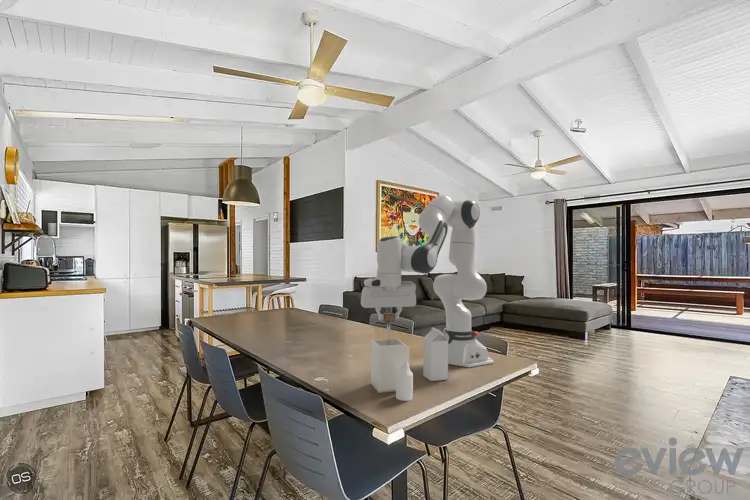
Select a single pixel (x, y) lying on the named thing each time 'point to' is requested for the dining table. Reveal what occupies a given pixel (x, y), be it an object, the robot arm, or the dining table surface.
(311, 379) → the dining table surface
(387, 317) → the plunger
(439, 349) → the milk carton
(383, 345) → the open-top square canister
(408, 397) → the white bottle
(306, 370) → the dining table surface
